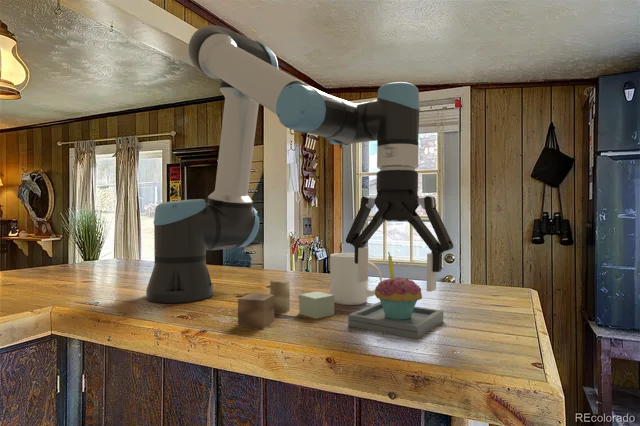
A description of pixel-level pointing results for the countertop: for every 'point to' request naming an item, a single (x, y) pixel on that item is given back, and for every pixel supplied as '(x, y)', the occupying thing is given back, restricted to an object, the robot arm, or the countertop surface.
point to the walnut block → (255, 310)
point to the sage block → (316, 304)
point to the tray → (396, 321)
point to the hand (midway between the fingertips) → (395, 285)
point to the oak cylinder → (280, 295)
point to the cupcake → (397, 295)
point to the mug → (349, 280)
